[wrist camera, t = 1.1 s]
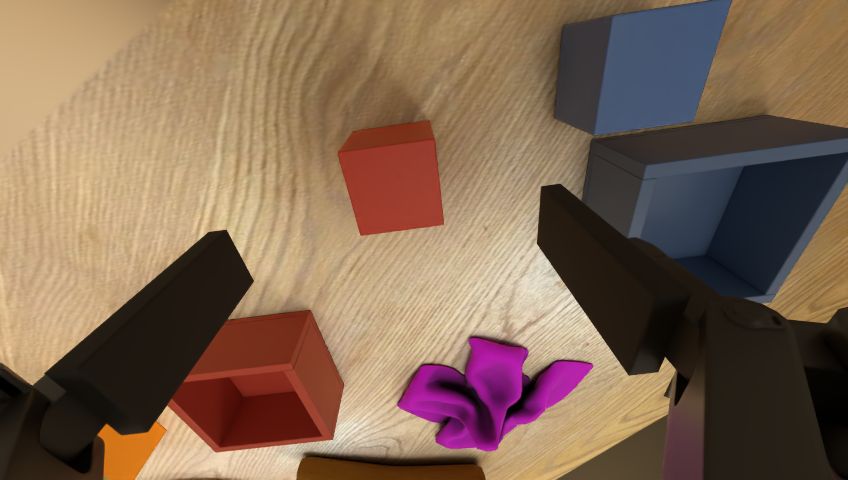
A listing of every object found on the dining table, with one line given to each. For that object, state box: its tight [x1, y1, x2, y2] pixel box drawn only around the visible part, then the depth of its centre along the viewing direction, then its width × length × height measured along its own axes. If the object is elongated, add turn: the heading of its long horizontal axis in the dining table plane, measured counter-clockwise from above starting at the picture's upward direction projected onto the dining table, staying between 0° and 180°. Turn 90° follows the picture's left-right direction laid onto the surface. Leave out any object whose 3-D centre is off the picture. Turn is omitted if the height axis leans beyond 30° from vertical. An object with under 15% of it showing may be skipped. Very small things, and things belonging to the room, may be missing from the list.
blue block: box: [554, 0, 732, 136], centre depth 16 cm, size 5×5×5 cm
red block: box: [338, 121, 444, 236], centre depth 19 cm, size 5×5×5 cm
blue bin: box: [582, 115, 848, 303], centre depth 21 cm, size 12×12×6 cm
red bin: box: [168, 310, 344, 452], centre depth 28 cm, size 12×12×6 cm
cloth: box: [397, 338, 593, 451], centre depth 33 cm, size 22×19×6 cm
